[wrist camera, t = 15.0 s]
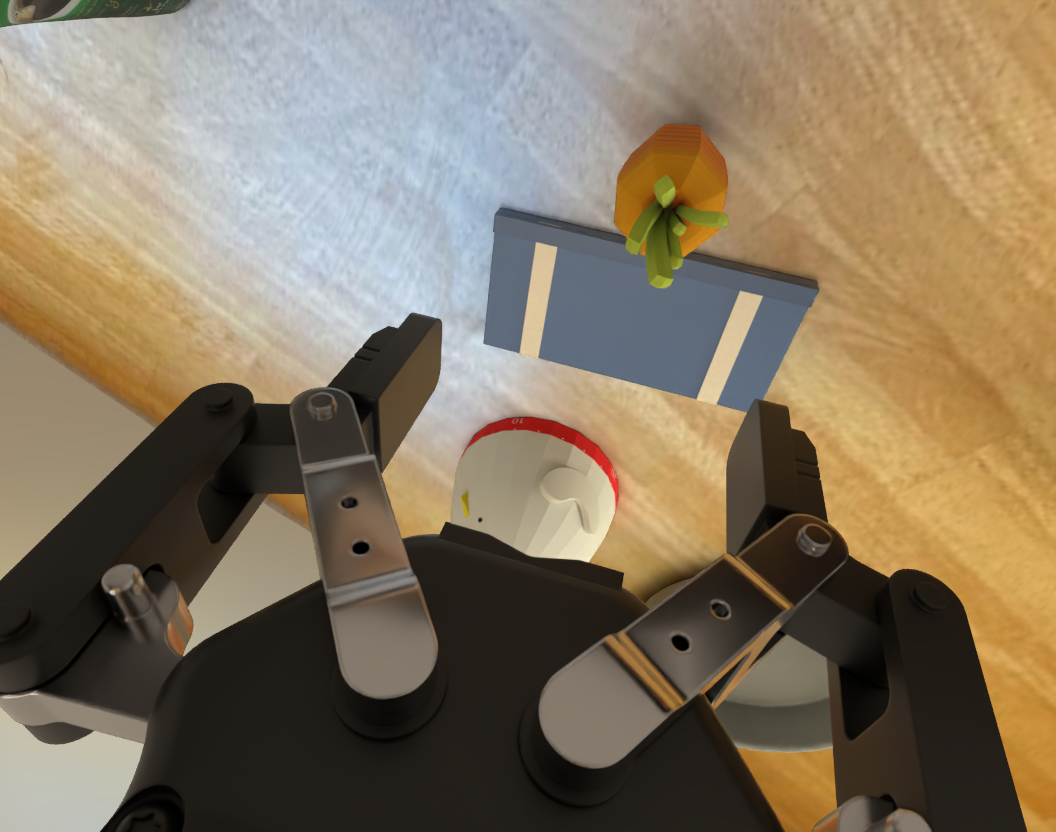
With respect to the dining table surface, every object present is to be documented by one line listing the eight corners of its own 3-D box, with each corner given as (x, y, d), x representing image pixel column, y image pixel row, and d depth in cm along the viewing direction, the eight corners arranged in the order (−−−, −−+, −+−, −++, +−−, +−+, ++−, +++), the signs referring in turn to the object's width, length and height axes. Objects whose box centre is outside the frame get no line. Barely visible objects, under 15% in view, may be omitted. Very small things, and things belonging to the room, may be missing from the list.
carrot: (664, 76, 32) (630, 153, 20) (747, 119, 32) (759, 219, 21) (621, 164, 35) (571, 273, 24) (697, 203, 35) (683, 329, 24)
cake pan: (780, 521, 48) (784, 565, 45) (944, 681, 55) (958, 730, 52) (569, 609, 63) (560, 647, 60) (719, 727, 70) (718, 768, 66)
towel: (500, 207, 39) (494, 213, 38) (817, 281, 36) (819, 290, 35) (486, 338, 45) (481, 346, 44) (755, 408, 43) (755, 418, 42)
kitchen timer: (536, 389, 47) (475, 534, 35) (652, 497, 50) (630, 661, 39) (434, 464, 55) (357, 602, 43) (540, 553, 59) (495, 701, 47)
